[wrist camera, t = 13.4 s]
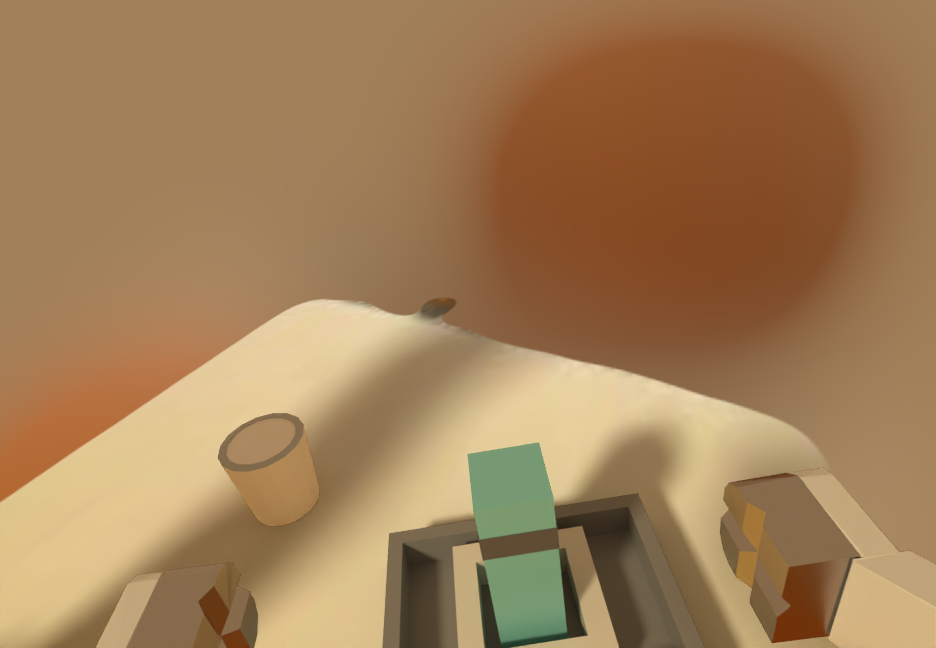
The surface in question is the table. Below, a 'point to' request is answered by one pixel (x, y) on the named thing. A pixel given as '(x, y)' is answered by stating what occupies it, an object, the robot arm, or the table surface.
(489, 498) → the plug
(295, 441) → the beige cylinder
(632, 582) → the grey tray
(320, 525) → the table surface
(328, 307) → the table surface
